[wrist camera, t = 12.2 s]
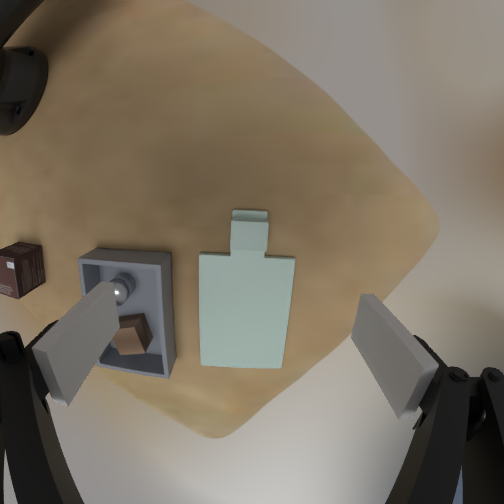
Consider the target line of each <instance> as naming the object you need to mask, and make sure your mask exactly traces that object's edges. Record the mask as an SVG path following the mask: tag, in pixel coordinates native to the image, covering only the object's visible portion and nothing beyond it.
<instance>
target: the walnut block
mask: <svg viewBox="0 0 504 504" xmlns="http://www.w3.org/2000/svg"><path fill="white" fill-rule="evenodd" d="M118 319H119V325H120V328H119V329H118V331H117V332H116V334H115V335H114V336H113V338H112V339H113V341H114V343H115V345H116V347H117V350H118V352H119V354H120V355H129V354H142V353H146V351H147V349H148V347H149V345H150V343H151V341H152V339H153V335H152V333H151V330H150V328H149V325H148V323H147V320H146V317H145V314H144V313H139V314H132V315H125V316H119V318H118Z"/></svg>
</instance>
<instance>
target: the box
mask: <svg viewBox="0 0 504 504" xmlns="http://www.w3.org/2000/svg"><path fill="white" fill-rule="evenodd" d="M43 283H45V274H44V266H43V252H42V246H40V245H33V244H27V243H20V242H17V243H15V244H12V245H10V246H7V247H5V248H3V249H0V293H1V294H4V295H7V296H10V297H13V298H16V299H20V298H21V297H23V296H25V295H26V294H28V293H29V292H31V291H32V290H34V289H35V288H37V287H38V286H40V285H42V284H43Z"/></svg>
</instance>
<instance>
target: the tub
mask: <svg viewBox="0 0 504 504" xmlns="http://www.w3.org/2000/svg"><path fill="white" fill-rule="evenodd" d="M78 266H79V274H80V282H81V289H82V296H83V297H84V296H85V295H87V294H88V293H89V292H90V291H91V290H92V289H93V288H94V287H95V286H97V285H98V284H99V283H100V282H101V281H104V282H110V281H111V280H112V279H113V278H114V277H115V276H117V275H118V274H119V273H128V274H129V275H131V276H132V277H133V278H134V280H135V283H136V289H135V291H134V292H133V293H132V295H131V296H130V297H129V298H128V299H127V300H126V301H125V303H124V304H123V305H121V306H117V313H118V318H119V316H125V315H132V314H139V313H144V314H145V317H146V320H147V323H148V325H149V328H150V330H151V333H152V335H153V339H152V341H151V343H150V345H149V347H148V349H147V351H146V353H142V354H129V355H120V354H119V352H118V350H117V347H116V345H115V343H114V341H113V339H111V341H110V342H109V344H108V345H107V347H106V348H105V350H104V351H103V353H102V354H101V356H100V357H99V359H98V360H97V362H96V363H97V366H100V367H105V368H109V369H114V370H119V371H124V372H130V373H135V374H141V375H147V376H154V377H160V378H168V379H169V378H170V375H171V372H172V369H173V366H174V363H175V360H176V348H175V334H174V317H173V294H172V253H165V252H150V251H135V250H120V249H105V248H95V249H93V250H91V251H90V252H88V253H86V254H84V255H83V256H81V257H79V258H78Z"/></svg>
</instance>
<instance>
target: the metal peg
mask: <svg viewBox="0 0 504 504" xmlns="http://www.w3.org/2000/svg"><path fill="white" fill-rule="evenodd" d="M110 282H113V283H114V291H115V299H116V306H121V305H123V304H124V303H125V301H126V300H127V299H128V298H129V297H130V296H131V295H132V293H133V292H134V291H135V289H136V283H135V280H134V278H133V277H132V276H131V275H129V274H128V273H119V274H118V275H117V276H115V277H114V278H113V279H112V280H111V281H110Z"/></svg>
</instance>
